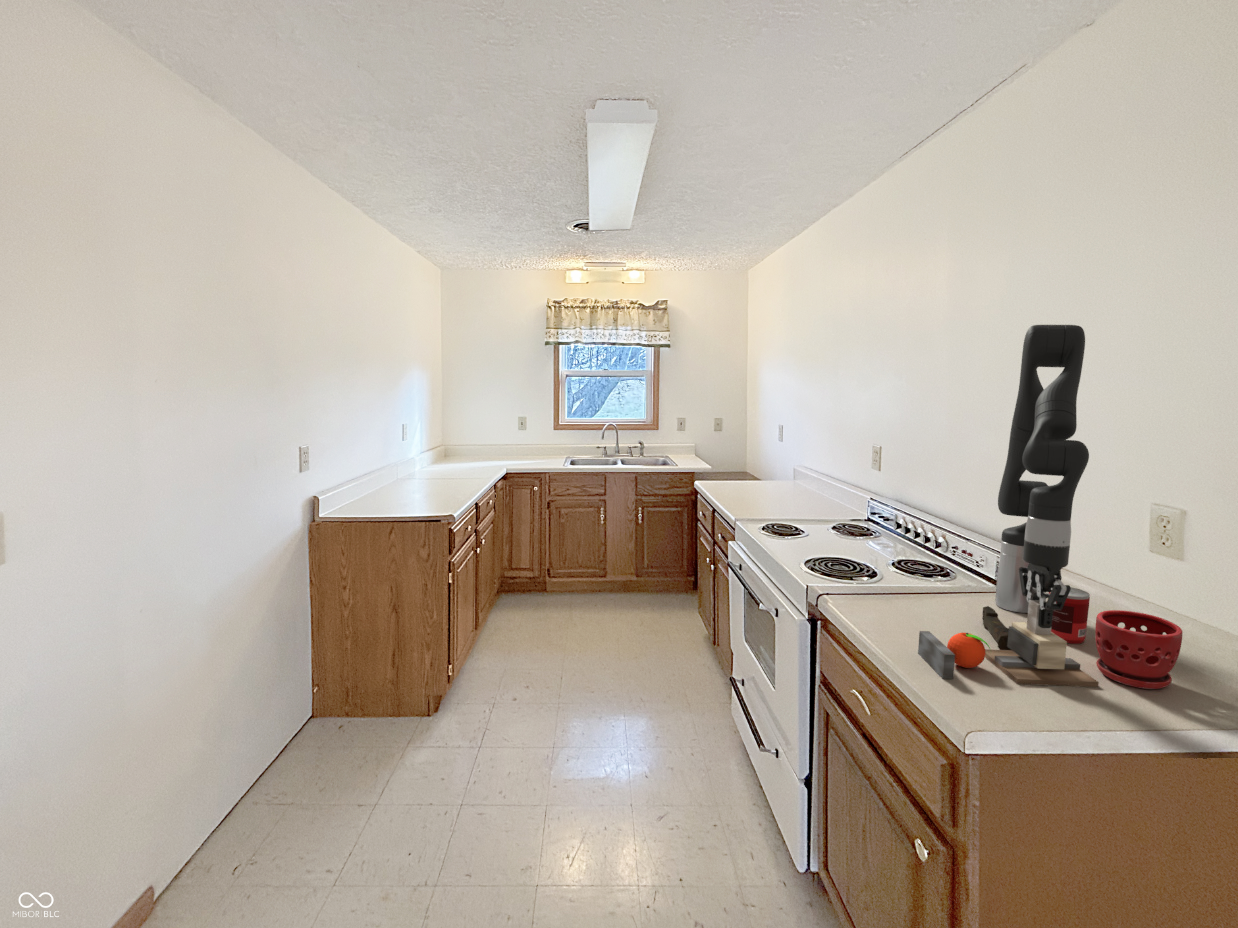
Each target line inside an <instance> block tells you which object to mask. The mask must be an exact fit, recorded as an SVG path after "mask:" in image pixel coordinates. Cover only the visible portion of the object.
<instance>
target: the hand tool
mask: <svg viewBox="0 0 1238 928" xmlns="http://www.w3.org/2000/svg"><path fill="white" fill-rule="evenodd" d="M982 625H983V628H984V629H985V630H988V631H989V634H991V635H992V637H993V639H994V640H995V641H996V643H997V648H998V650H1011V649H1010V648H1008V647H1007V643H1008V632H1009V627H1006V625H1004V623H1003V622H1002V621H1001V620H1000V619H999V614H998V612H996V610H995V609H994V608H992V607H991V606H989V605H988V606H987V605H986V606H984V607H982Z"/></svg>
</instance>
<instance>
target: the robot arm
mask: <svg viewBox="0 0 1238 928" xmlns="http://www.w3.org/2000/svg"><path fill="white" fill-rule="evenodd" d="M1022 346H1023V347H1022V352H1021V353H1022V354H1021V364H1020V376H1019V383H1018V384H1019V385H1018V390H1017V391H1018V392H1017V397H1016V401H1015V406H1014V407H1015V408H1014V412H1013V415H1012V416H1013V417H1012V420H1011V421H1012V422H1011V425H1010V426H1011V428H1010V432H1009V433H1010V434H1009V443H1008V450H1007V457H1006V458H1007V459H1006V461H1005V462H1006V463H1005V466H1004V471H1003V474H1002V479H1001V482H1000V485H999V490H998V491H999V492H998V497H997V506H998V510H999V512H1000V513H1001V514H1002V515H1006V516H1009V517H1010V516H1013V517H1021V518H1022V517H1023V518H1024V517H1025V518H1027V520H1026V522H1024V523H1022V524H1020V525H1016V526H1012V527H1007V528H1004V529H1003V530H1002V532H1001V539H1000V540H1001V541H1000V551H999V553H1000V554H999V565H998V567H997V575H996V587H995V598H994V599H995V600H994V601H995V604H996V606H997V607H999V608H1000V609H1004V610H1007V611H1011V612H1015V613H1022V614H1028V606H1029V600H1040V609H1039V620H1038V626H1039V627H1041V628H1051V626H1052V618H1053V611H1054V610H1062V608H1063V606H1064V603H1065V601H1066V599H1067V597H1068V595H1069V592H1070V590H1071V587H1072V586H1070V584H1064V583H1063V581H1062V580H1063V579H1062V573H1061V570H1062V569H1064V568H1066V567H1067V566H1068V565H1069V558H1070V551H1071V549H1070V548H1071V540H1072V539H1071V538H1072V523H1071V522H1072V521H1071V520H1072V512H1073V502H1074V497H1075V493H1076V491H1077V487H1078V485H1079V482H1080V480H1081V478H1082V477H1083V474H1084V472H1085V469H1086V468H1087V465H1088V463H1089V460H1090V459H1089V458H1090V452H1089V450H1088V447H1087V446H1086V444H1085V443H1084V442H1082V441H1080V440H1074V439H1071V438H1072V437H1073V436H1074V435H1075V434H1076V431H1077V426H1078V425H1077V397H1078V391H1079V386H1080V383H1081V377H1082V376H1081V375H1082V372H1083V370H1082V369H1083V364H1084V358H1085V357H1084V356H1085V349H1086V335H1085V331H1084V328H1083V327H1082V326H1080V325H1075V324H1033V325H1031V326H1030V327H1029V328H1028V329H1027V330H1026V333H1025V336H1024V340H1023V344H1022ZM1038 368H1063V370H1062V371H1061V372H1060V374H1059V375H1058V376H1057V377H1056V378H1055V379H1054V380H1053V381H1052V382H1051V383H1049V384H1048V385H1047V386H1046V387H1045V388H1044V387H1043V385H1042V383H1041V380H1040V377H1039V375H1038ZM1026 471H1027V472H1029V473H1030V474H1032V475H1041V476H1055V477H1056V476H1057V477H1058V476H1059V477H1062V479H1061V481H1059V482H1058V483H1057V484H1053V485H1048V483H1046V482H1044V481H1037V480H1036V481H1035V480H1023V479H1021V478H1022V476H1023V474H1024V473H1025V472H1026ZM1049 592H1051V593H1050V594H1049ZM1046 599H1047V601H1046ZM1046 602H1047V603H1046ZM1056 602H1057V604H1056Z"/></svg>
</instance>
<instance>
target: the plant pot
mask: <svg viewBox="0 0 1238 928" xmlns="http://www.w3.org/2000/svg"><path fill="white" fill-rule="evenodd" d="M1121 623H1123V624H1124V626H1123V627H1119V624H1121ZM1142 627H1145V628H1146V630H1143V629H1142ZM1132 628H1133V629H1134V630H1135V631H1134V630H1131V629H1132ZM1094 631H1095V637H1094V639H1095V645H1096V650H1097V653H1098V655H1099V658H1097V659H1096V662H1095V663H1096V667H1097V668H1098V671H1100V673H1102V674H1103V675H1104V676H1106V677H1107V678H1109V679H1111V680H1113V681H1115V682H1117V683H1120V684H1123V685H1127V686H1130V687H1132V688H1133V687H1134V688H1139V689H1145V690H1147V689H1148V690H1158V689H1164V688H1166V687H1168V686H1169V685H1170V684H1171V683H1172V678H1173V677H1172V676H1171V675H1170V672H1171V671H1172V670H1173V668H1174V667H1175V665H1176V663H1177V661H1178V658H1179V656H1180V653H1181V647H1182V643H1183V642H1182V641H1183V633H1184V632H1183V629H1182V628H1181V627H1180V626H1179V625H1178V624H1176V623H1174V622H1172V621H1169V620H1167V619H1165V618H1162V617H1159V616H1155V615H1151V614H1148V613H1143V612H1138V611H1137V612H1136V611H1131V610H1122V609H1121V610H1119V609H1118V610H1117V609H1113V610H1110V609H1109V610H1103V611H1100V612H1099V613H1098V614H1096V618H1095V629H1094ZM1164 633H1165V634H1164Z"/></svg>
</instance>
